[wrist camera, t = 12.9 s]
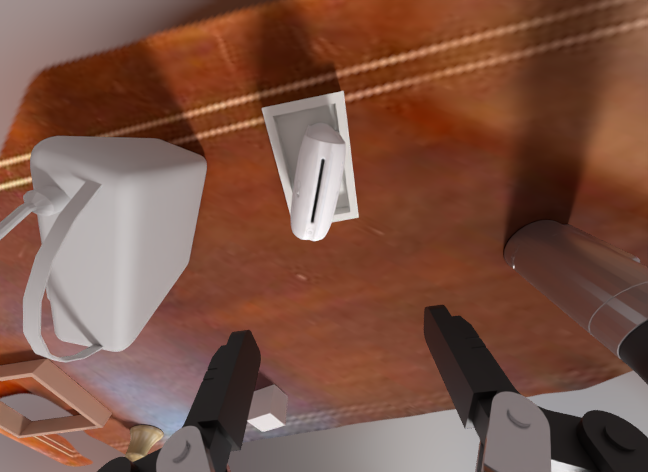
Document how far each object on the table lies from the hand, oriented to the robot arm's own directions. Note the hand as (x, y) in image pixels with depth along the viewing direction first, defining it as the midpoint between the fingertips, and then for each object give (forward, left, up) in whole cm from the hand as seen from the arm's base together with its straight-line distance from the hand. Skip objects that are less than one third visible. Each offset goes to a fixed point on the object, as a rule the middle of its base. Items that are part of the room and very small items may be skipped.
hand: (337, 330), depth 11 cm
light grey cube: (+22, +49, -25) cm, 59 cm away
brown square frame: (+73, +37, -25) cm, 85 cm away
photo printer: (+1, -2, -24) cm, 24 cm away
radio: (+22, 0, -25) cm, 33 cm away
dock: (+1, -2, -25) cm, 25 cm away
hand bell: (+59, +59, -25) cm, 87 cm away
